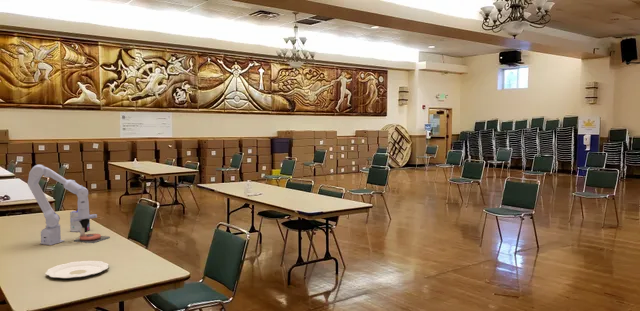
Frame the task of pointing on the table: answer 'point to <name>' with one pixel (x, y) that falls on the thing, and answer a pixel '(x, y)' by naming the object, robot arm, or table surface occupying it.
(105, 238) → the bench plate
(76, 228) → the ink cartridge box
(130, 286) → the table surface
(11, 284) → the table surface
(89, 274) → the plate
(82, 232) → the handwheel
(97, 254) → the table surface
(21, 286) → the table surface
